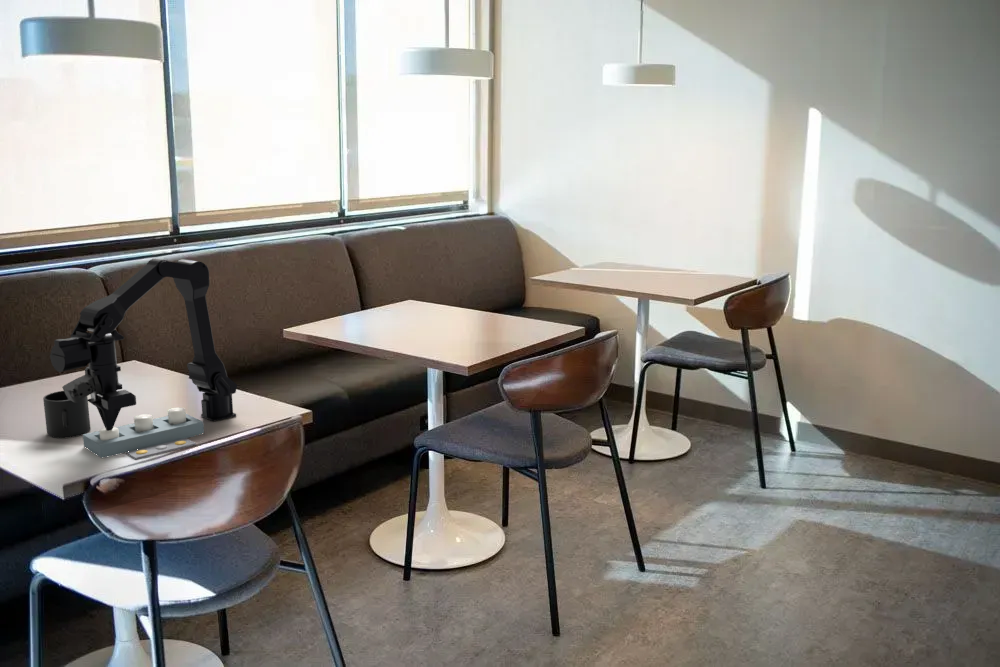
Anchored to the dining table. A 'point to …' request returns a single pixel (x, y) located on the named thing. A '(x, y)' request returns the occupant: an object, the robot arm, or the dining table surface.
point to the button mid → (143, 423)
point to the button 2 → (176, 415)
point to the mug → (65, 416)
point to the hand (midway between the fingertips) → (109, 430)
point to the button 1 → (109, 434)
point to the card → (160, 448)
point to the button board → (143, 436)
